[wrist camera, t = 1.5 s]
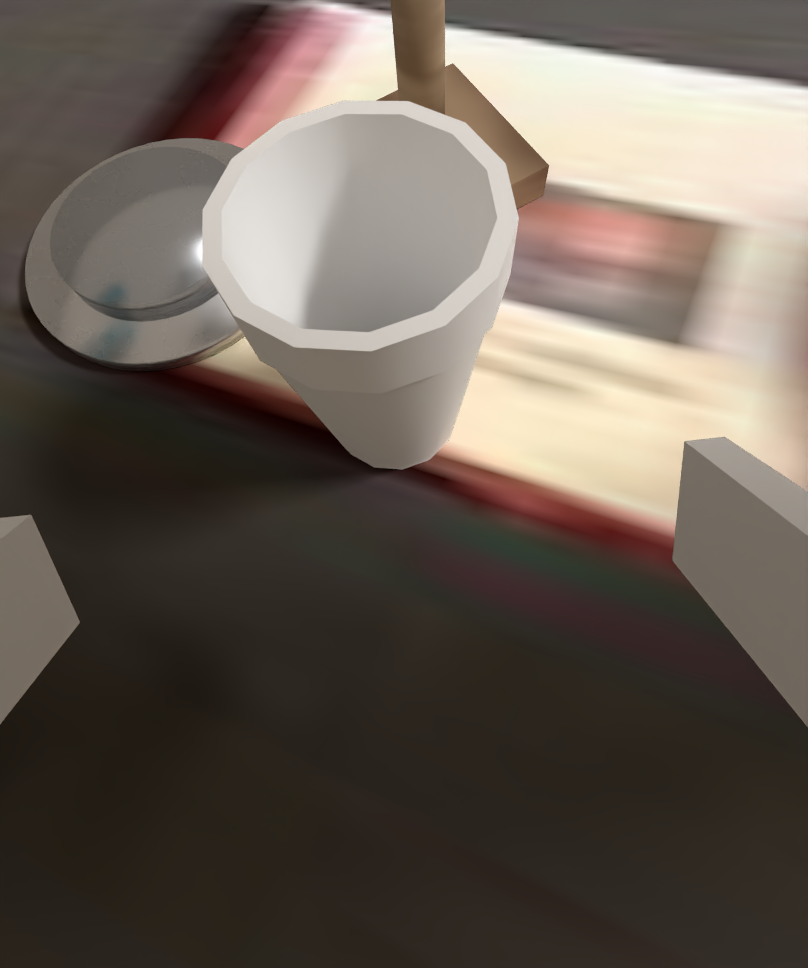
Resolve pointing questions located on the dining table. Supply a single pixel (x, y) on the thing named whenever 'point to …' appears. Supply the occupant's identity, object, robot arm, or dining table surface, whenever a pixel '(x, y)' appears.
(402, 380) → the foam cup
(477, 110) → the stand
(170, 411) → the dining table surface
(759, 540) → the robot arm
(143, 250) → the grey plate
